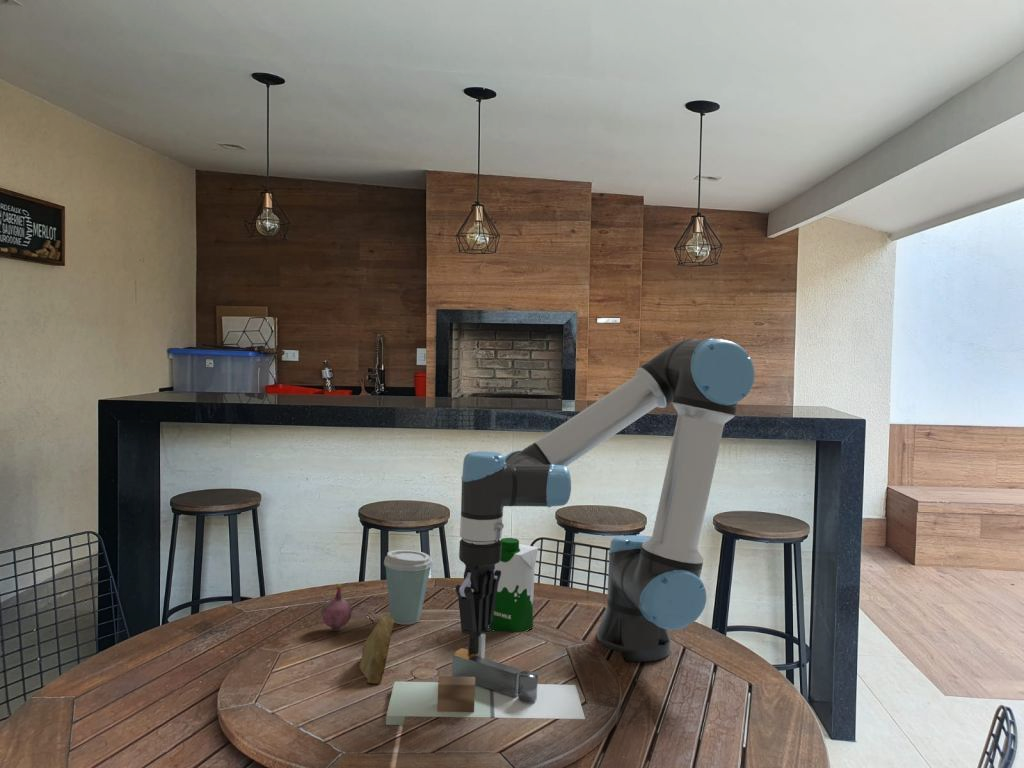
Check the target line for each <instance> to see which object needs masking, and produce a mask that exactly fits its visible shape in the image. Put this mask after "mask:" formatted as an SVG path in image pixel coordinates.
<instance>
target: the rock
mask: <svg viewBox="0 0 1024 768" xmlns="http://www.w3.org/2000/svg"><path fill="white" fill-rule="evenodd" d="M393 627H394V619H392V618H391V617H390V615H388V614H384V615H383V616H382V617H381V618H379V621H378V622H377V624H375V626H374V629H372V631H371V633H370V634H369V636H368V637H367V638H366V640H365V642H364V644H363V646H362V648H361V649H362V650H361V651H362V652H361V653H362V654H361V658H360V663H359V665H358V667H359V670H360V671H361V673H363V676H364V677H365V678H366V682H367V683H368V684H381V683H382V681H383V675H384V673H385V669H386V664H387V663H386V661H387V658H388V653H389V650H390V649H389V648H390V644H391V643H390V642H391V637H392V631H393Z"/></svg>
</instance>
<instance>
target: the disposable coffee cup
mask: <svg viewBox="0 0 1024 768" xmlns="http://www.w3.org/2000/svg"><path fill="white" fill-rule="evenodd" d="M386 553H387V554H386V556H384V561H383V566H385V575H386V576H385V577H386V578H385V579H386V587H387V597H388V598H387V599H388V609H389V610H388V611H389V616H390V617H391V618H392V619H394V622H393V624H397V625H398V624H399V625H402V626H403V625H414V624H417V622H419V621H420V618H421V616H422V612H423V606H424V601H425V596H426V591H427V588H428V582H429V577H430V573H431V572H430V571H431V568H432V566H433V563H432V557H431V556H430V555H429V554H427V553H425V552H422V551H418V550H412V549H411V550H410V549H409V550H408V549H397V550H391V551H388V552H386Z"/></svg>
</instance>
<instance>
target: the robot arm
mask: <svg viewBox="0 0 1024 768" xmlns="http://www.w3.org/2000/svg"><path fill="white" fill-rule="evenodd" d="M754 382H755V367H754V363H753V360H752V358H751V357H750V355H749V354H748V352H747V351H746V350H745V349H744V347H742V346H741V345H739V344H737V343H735V342H733V341H730V340H727V339H723V338H713V337H712V338H705V339H703V338H702V339H697V338H688V339H684V340H680V341H678V342H677V343H674V344H672V345H670V346H669V347H666V348H665V349H664V350H663V351H661V352H660V353H658V354H657V355H655V356H654V357H652V358H651V359H649V360H648V361H647V362H645V363H643V364H642V365H641V366H639V367H638V368H636V370H635V376H633V377H632V378H630V379H628V380H627V381H626V382H624V383H623V384H621V385H619V386H618V387H615V388H614V389H613V390H612V391H610V392H609V393H608V394H606V395H604V396H602V397H601V398H600V399H597V400H596V401H595V402H594V403H592V404H591V405H589V406H587V407H586V408H584V409H583V410H581V411H580V412H579V413H577V414H575V415H574V416H573V417H571V418H569V419H568V420H566V421H565V422H563V423H562V424H560V425H559V426H557V427H556V428H554V429H552V430H551V431H550V432H548V433H547V434H545V435H544V436H542V437H541V438H539V439H537V440H536V441H534V442H533V443H532V444H530V445H528V446H527V447H525V448H524V449H522V450H515V451H511V452H509V453H508V454H507V455H506V456H505V455H504V454H503V453H501V452H496V451H473V452H472V451H471V452H469V453H467V454H466V455H464V458H463V465H462V476H461V493H460V494H461V500H460V503H461V504H460V521H459V523H460V526H459V537H460V538H461V540H459V547H458V548H459V550H458V558H459V561H460V562H462V563H463V564H464V566H465V568H464V572H463V579H464V580H463V582H462V584H457V585H456V586H455V593H456V595H457V598H458V599H457V601H458V608H459V619H460V620H459V621H460V628H461V629H460V630H461V634H462V635H467V636H468V645H467V650H468V652H469V653H473V654H476V656H478V657H481V658H485V656H486V654H485V653H486V636H487V635H486V633H488V634H491V632H492V631H491V630H492V629H491V628H489V625H492V622H493V616H494V609H495V602H496V595H497V588H498V583H499V579H500V576H501V571H500V570H495V564H497V563H499V562H500V560H501V549H502V542H501V541H500V540H501V539H502V537H503V529H504V523H503V516H504V507H547V508H552V507H561V506H565V505H567V503H568V502H569V500H570V498H571V493H572V479H571V472H570V470H569V468H568V467H567V466H570V465H571V464H572V463H574V462H575V461H577V460H579V459H580V458H582V456H584V455H586V454H587V453H589V452H590V451H592V450H594V449H595V448H596V447H598V446H600V445H602V443H604V442H606V441H607V440H609V439H610V438H612V437H614V436H615V435H616V434H617V433H619V432H621V431H623V430H624V429H625V428H627V427H628V426H629V425H631V424H633V423H634V422H636V421H638V419H640V418H641V417H643V416H644V415H646V414H648V413H649V412H651V411H653V410H654V409H655V408H660V409H664V408H666V407H667V406H669V405H671V404H672V406H673V407H674V409H675V411H676V412H677V418H676V423H675V428H674V432H673V435H672V442H671V447H670V451H669V456H668V460H667V465H666V468H665V475H664V479H663V484H662V490H661V493H660V499H659V503H658V507H657V511H656V516H655V521H654V526H653V531H652V534H651V535H640V534H639V535H637V534H635V535H634V534H633V535H631V534H630V535H629V534H628V535H619V536H615V537H613V538H612V540H610V544H609V551H608V555H609V556H608V576H607V579H608V581H607V600H606V601H607V602H606V603H607V604H606V610H605V611H604V614H603V616H602V619H601V622H600V624H599V626H598V628H597V629H598V630H597V632H596V639H597V641H598V643H600V644H601V645H602V646H603V647H605V648H607V649H609V650H612V651H615V652H617V653H620V655H621V657H622V659H623V660H625V661H631V662H644V663H645V662H654V661H659V660H663V659H664V658H667V657H668V656H669V655H670V653H671V648H672V646H671V645H672V644H671V643H672V641H671V640H672V639H671V636H670V632H669V631H675V630H681V629H685V628H687V627H688V626H689V625H691V624H692V623H695V622H696V621H697V620H698V618H700V617H701V614H702V613H703V612H704V609H705V607H706V604H707V598H708V597H707V590H706V586H705V585H704V582H703V581H702V579H701V575H702V574H701V573H702V570H703V566H704V558H703V556H702V555H701V553H700V551H699V549H698V548H699V543H700V539H701V533H702V528H703V524H704V520H705V515H706V509H707V505H708V501H709V496H710V491H711V487H712V482H713V478H714V473H715V468H716V465H717V459H718V454H719V450H720V445H721V440H722V438H723V437H722V436H723V431H724V427H725V424H726V423H727V422H729V421H731V420H732V419H733V418H735V416H736V412H737V407H738V403H739V402H741V401H742V400H743V399H744V398H745V397H747V396H748V395H749V394H750V392H751V390H752V388H753V386H754ZM485 659H486V658H485Z"/></svg>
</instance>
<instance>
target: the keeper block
mask: <svg viewBox="0 0 1024 768" xmlns="http://www.w3.org/2000/svg"><path fill="white" fill-rule="evenodd" d="M474 702H475V677H454V676H452V675H451V676H449V675H446V676H443V675H441V676H440V675H439V676H438V702H437V712H474Z"/></svg>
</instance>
